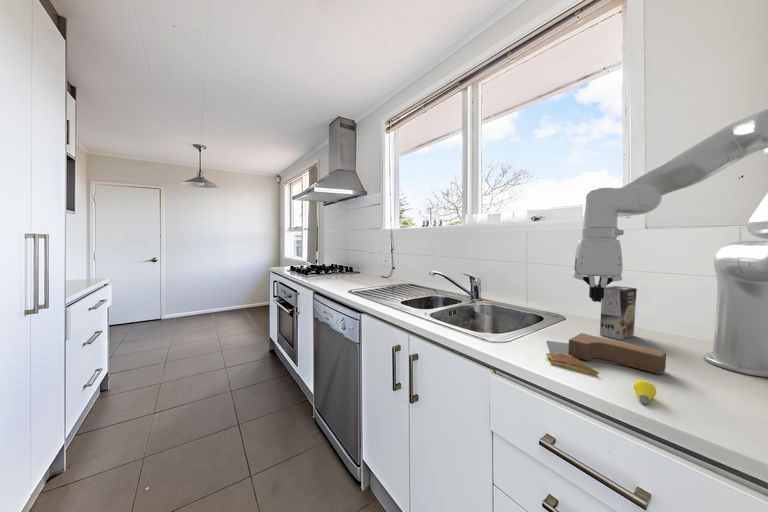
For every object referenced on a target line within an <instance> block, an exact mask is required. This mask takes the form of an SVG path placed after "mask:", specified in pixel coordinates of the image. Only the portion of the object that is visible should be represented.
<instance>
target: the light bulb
mask: <svg viewBox="0 0 768 512" xmlns="http://www.w3.org/2000/svg"><path fill="white" fill-rule="evenodd" d="M632 387H633V390H634V391H635V394H636V395H637V397H638V398H639V403H641V404H642V405H647V406H648V405H649V404H650V402H651V400H652V399H654V398H655V396H656V395H657V394H658V392H657V389H656V387H655V385H654V384H653V383H651V382H650V380H649V381H648V380H645V379H640V380H636V381H635V382H634V384H633V386H632Z"/></svg>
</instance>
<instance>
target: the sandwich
mask: <svg viewBox="0 0 768 512" xmlns="http://www.w3.org/2000/svg"><path fill="white" fill-rule="evenodd" d="M545 355H546V357H547V358H548V359H550V365H553V366H558V367H562V368H565V369H569V370H572V371H575V372H579V373H583V374H586V375H591V376H595V377H596V376H598V375H599V374H600V371H597V370H595V369H594V368H592V367H590V366H589V365H587V363H585V362H583V361H582V360H581V359H577V358H575V357H573V356H572V355H567V354H563V353H550V352H547V353H545Z"/></svg>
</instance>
